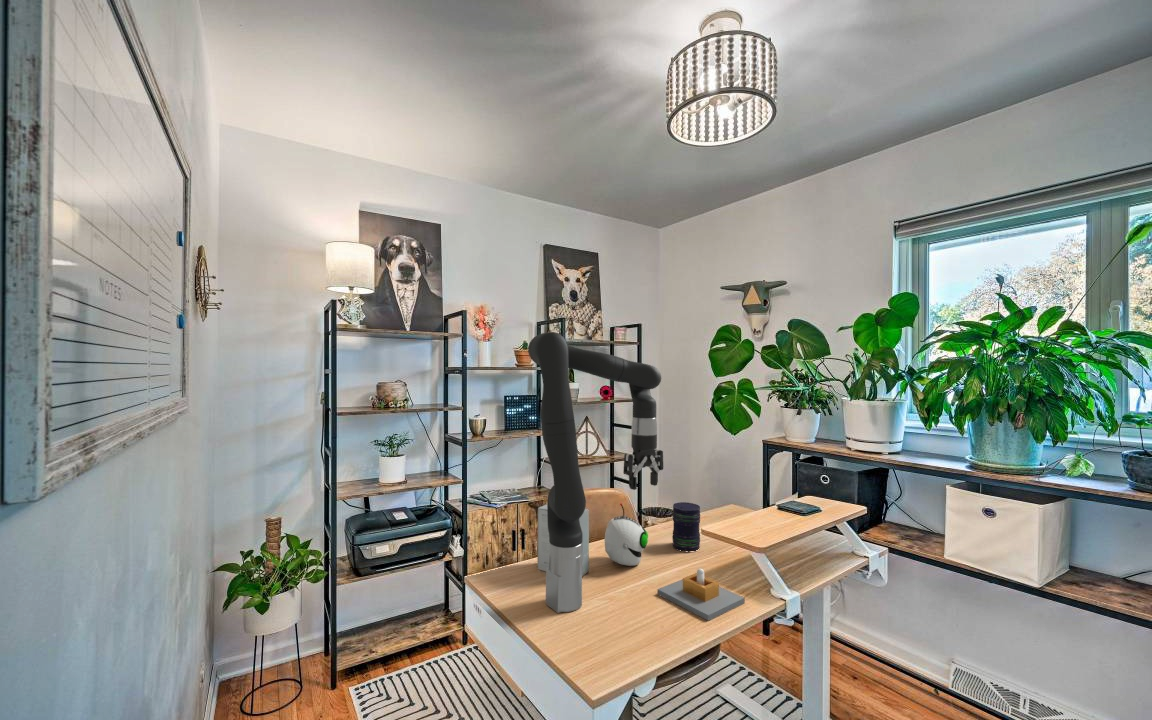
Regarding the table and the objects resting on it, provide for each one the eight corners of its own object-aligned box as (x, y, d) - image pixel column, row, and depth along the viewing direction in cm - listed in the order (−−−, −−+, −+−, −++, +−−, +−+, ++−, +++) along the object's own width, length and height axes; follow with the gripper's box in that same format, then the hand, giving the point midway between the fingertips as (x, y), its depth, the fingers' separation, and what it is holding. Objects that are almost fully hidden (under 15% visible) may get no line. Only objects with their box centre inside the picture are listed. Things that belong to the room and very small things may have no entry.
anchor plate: (708, 621, 127) (708, 588, 127) (657, 594, 141) (657, 564, 141) (744, 603, 136) (744, 572, 136) (693, 579, 151) (693, 552, 151)
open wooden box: (705, 601, 134) (705, 588, 134) (682, 590, 140) (682, 578, 140) (718, 595, 137) (719, 583, 137) (696, 585, 144) (696, 573, 144)
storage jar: (683, 540, 184) (684, 500, 184) (705, 548, 177) (706, 506, 177) (666, 546, 178) (667, 505, 178) (688, 554, 170) (688, 512, 170)
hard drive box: (589, 571, 156) (590, 509, 156) (577, 581, 149) (578, 515, 149) (549, 561, 164) (549, 501, 164) (536, 569, 157) (536, 507, 157)
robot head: (646, 576, 153) (647, 512, 153) (601, 572, 155) (601, 509, 155) (648, 556, 169) (648, 498, 169) (606, 552, 171) (607, 495, 171)
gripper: (635, 436, 137) (635, 493, 137) (670, 432, 146) (669, 486, 146) (617, 432, 143) (617, 488, 143) (651, 429, 152) (651, 481, 152)
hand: (643, 487), depth 144 cm, fingers open, 8 cm apart
